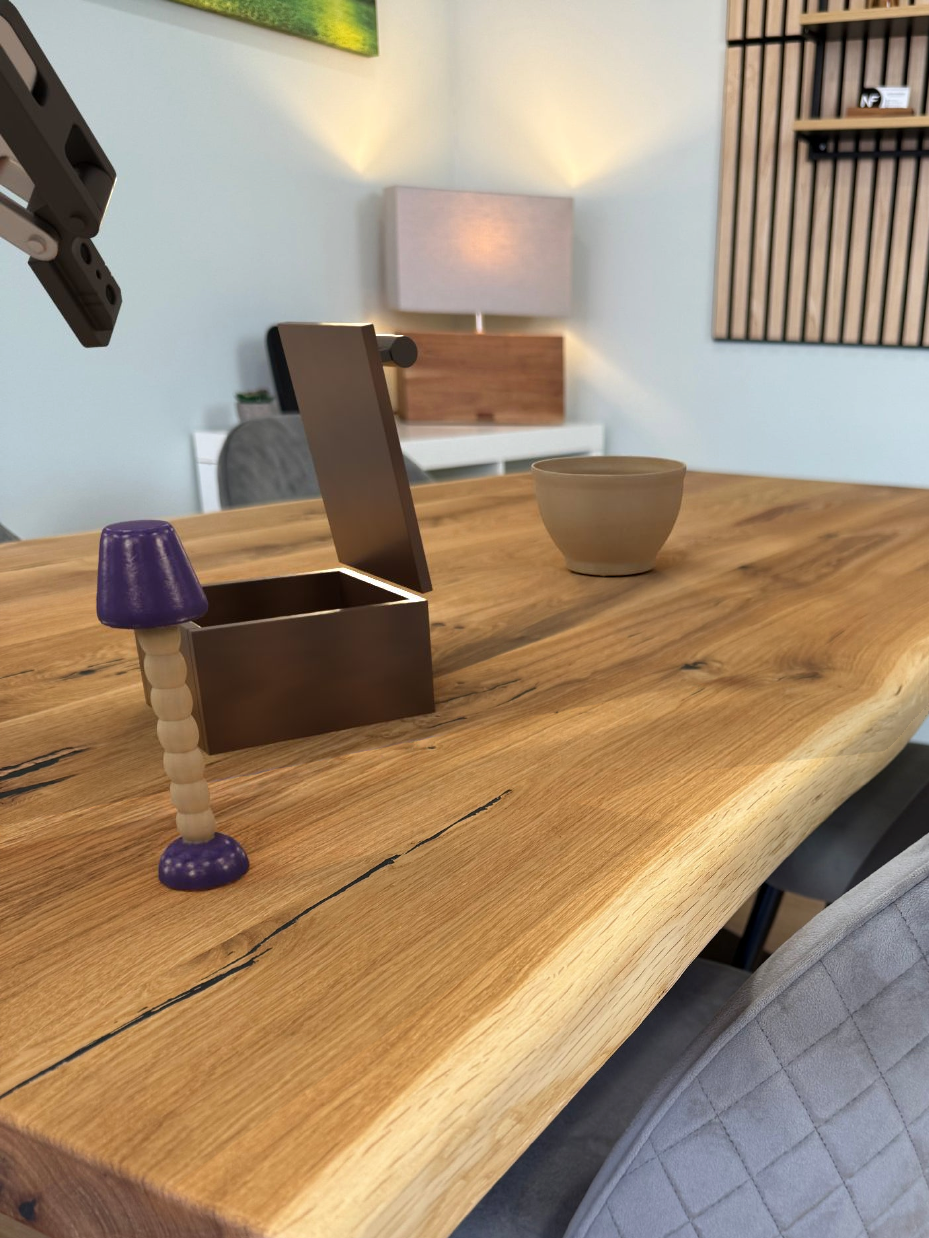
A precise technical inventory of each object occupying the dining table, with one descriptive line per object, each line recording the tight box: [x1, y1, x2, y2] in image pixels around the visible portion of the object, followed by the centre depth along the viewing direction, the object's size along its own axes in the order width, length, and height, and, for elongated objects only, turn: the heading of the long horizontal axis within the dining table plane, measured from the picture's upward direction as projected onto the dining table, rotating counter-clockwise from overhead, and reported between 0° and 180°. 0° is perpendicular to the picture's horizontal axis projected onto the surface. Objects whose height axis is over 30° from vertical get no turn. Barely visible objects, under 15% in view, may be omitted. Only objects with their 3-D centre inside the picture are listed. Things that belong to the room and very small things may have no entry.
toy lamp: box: [95, 519, 250, 892], centre depth 55 cm, size 5×5×17 cm
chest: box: [133, 567, 436, 756], centre depth 77 cm, size 15×13×9 cm
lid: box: [276, 321, 434, 595], centre depth 76 cm, size 15×13×5 cm
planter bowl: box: [530, 454, 687, 577], centre depth 128 cm, size 16×16×11 cm
